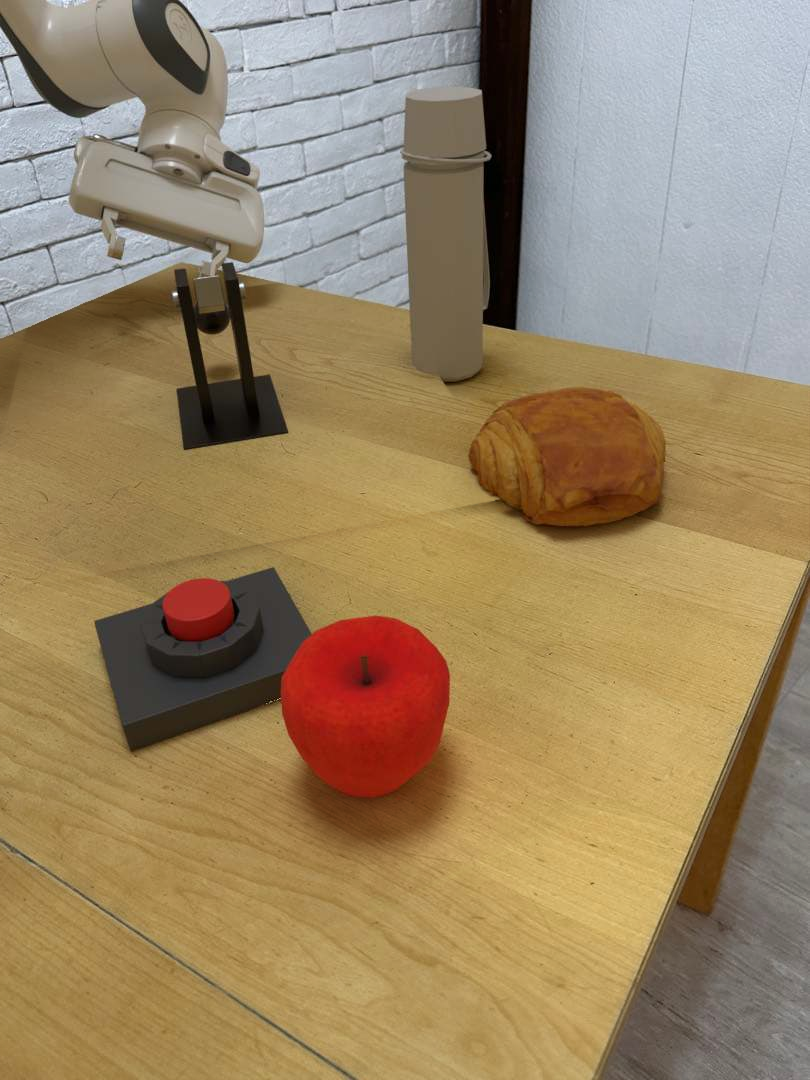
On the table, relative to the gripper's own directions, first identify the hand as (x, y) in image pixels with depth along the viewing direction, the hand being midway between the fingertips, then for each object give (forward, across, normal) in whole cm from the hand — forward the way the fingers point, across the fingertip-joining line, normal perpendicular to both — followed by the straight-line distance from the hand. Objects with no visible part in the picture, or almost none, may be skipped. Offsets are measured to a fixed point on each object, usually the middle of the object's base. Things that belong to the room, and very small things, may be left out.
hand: (161, 268), depth 95 cm
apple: (+52, +12, -38) cm, 66 cm away
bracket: (+20, +7, -10) cm, 23 cm away
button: (+44, +2, -31) cm, 54 cm away
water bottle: (+11, +28, -14) cm, 33 cm away
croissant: (+29, +30, -30) cm, 51 cm away
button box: (+46, +4, -29) cm, 54 cm away
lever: (+13, +4, -13) cm, 18 cm away
